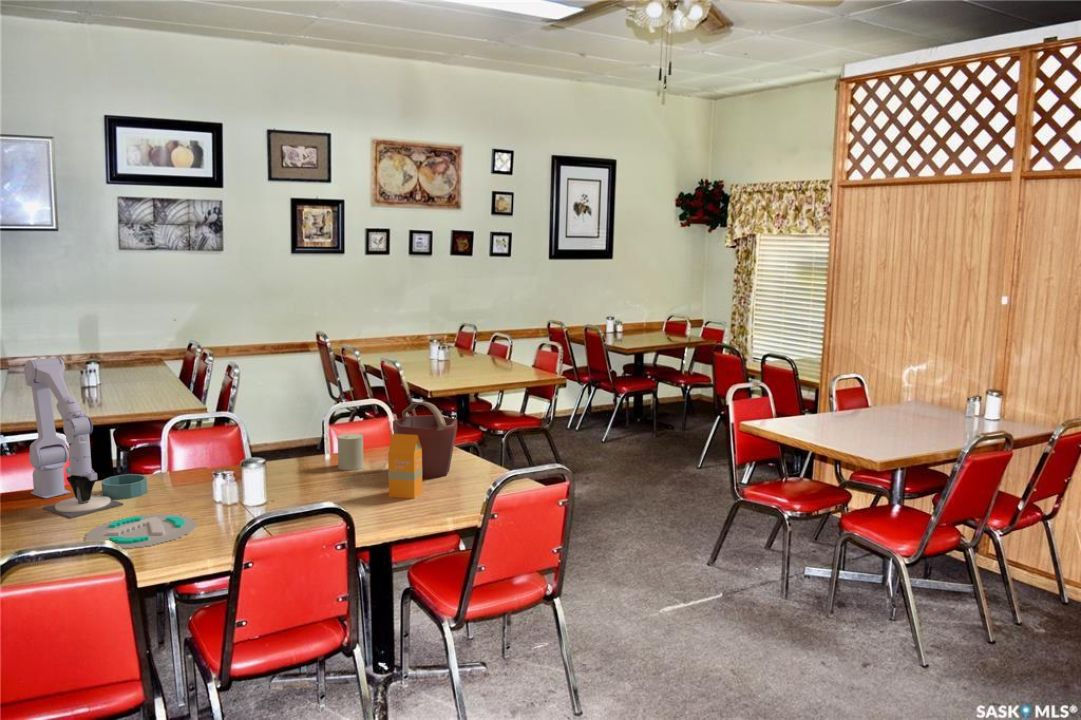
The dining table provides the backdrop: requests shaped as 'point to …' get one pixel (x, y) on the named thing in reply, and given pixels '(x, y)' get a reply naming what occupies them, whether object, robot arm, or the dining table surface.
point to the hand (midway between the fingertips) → (83, 499)
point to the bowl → (124, 486)
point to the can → (350, 451)
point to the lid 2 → (143, 530)
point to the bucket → (430, 438)
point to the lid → (82, 503)
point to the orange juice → (405, 466)
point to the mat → (72, 515)
